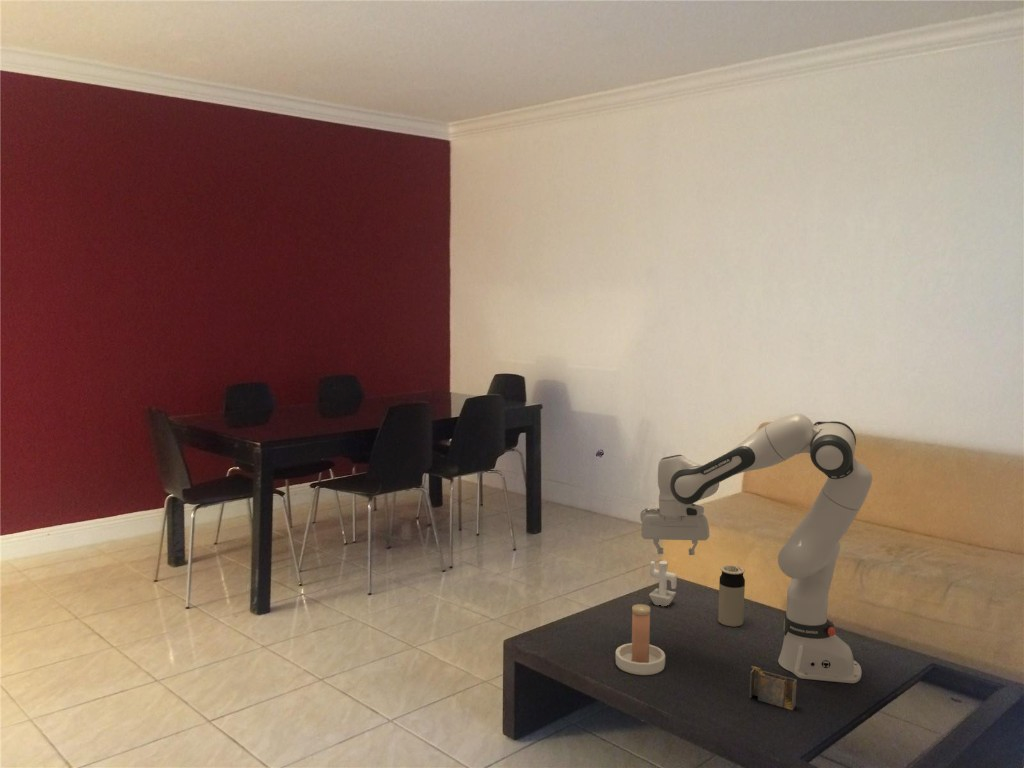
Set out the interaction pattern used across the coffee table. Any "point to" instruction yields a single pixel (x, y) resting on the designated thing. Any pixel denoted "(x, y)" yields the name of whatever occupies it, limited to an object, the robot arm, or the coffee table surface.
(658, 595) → the figurine
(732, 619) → the travel mug
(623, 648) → the round tray
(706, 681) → the coffee table surface
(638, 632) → the bead jar
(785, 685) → the brown piece
